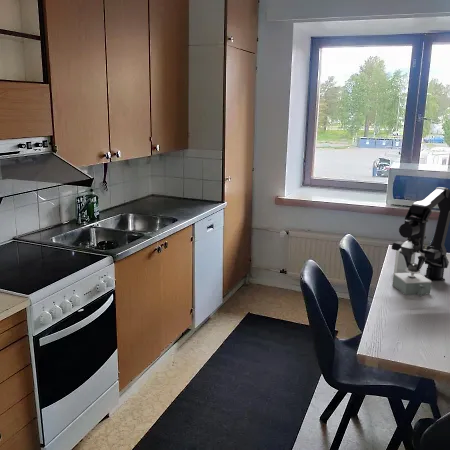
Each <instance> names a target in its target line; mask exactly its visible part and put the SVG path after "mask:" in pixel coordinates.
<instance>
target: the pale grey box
mask: <svg viewBox="0 0 450 450" xmlns="http://www.w3.org/2000/svg"><path fill="white" fill-rule="evenodd" d="M392 277H393V278H392V285H391V286H393V287H394V288H396V290H398V291H400V292H401V293H402V294H403V293H404V295H406V296H410V295H418V296H420V297H423V296H424V295H429V294H431V289H432V282H433V281H432V280H430V279H429V278H427V277H425V276H424V275H422V274H421V273H418V274H414V278H411V273H394V272H393V275H392Z"/></svg>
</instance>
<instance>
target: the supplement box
mask: <svg viewBox="0 0 450 450" xmlns="http://www.w3.org/2000/svg"><path fill="white" fill-rule="evenodd" d="M400 251H401V248H400V250H398V251H397V250H395V258H394V265H393V266H394V269H393V274H394V273H409V272H407V271H406V268H407V265H406V261H405V258H404V256H403V255H402V254H401V253H400ZM415 259H416V252H414V254H413V255H412V257H411V263H415Z"/></svg>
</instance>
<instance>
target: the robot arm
mask: <svg viewBox="0 0 450 450" xmlns="http://www.w3.org/2000/svg"><path fill="white" fill-rule="evenodd" d="M434 207H438V209H439V212H438V213H439V214H438V217H437V222H436V226H435V232H434V235H433V239H432V243H430V245H427V246H426V245H425V239H427V236H426V228H427V223H429V218H430V216H431V215H432V211H433V208H434ZM449 226H450V188H448V187H442V186H438V187H435V188H434V190H433V191H432V192H431V193H429V195H428V196H426V197H425V198H424V199H422V200H421V199H420V200H417V201H415V202H413V203H412V204H411V205H410V206H409V208H408V210H407V213H406V215H405V218H404V223H402V224H401V225H400V226H399V228H398V232H399V235H400V236H401V237H402V238H406V239H407V240H406V241H400V240H398V241H395V242H393V243H392V244H391V250H393V251H396V250H397V251H398V250H400V248H401V251H400V253H401V254H402V255H403V256H404V258H405V261H406V265H407V268H408V265H409V263H411V257H412V255H413V254H414V252H416V253H418V254H420V255H419V256H417V259H418V260H417V261H418V262H417V264H418V266H417V271H419V270H420V271H421V268H422V266H423V265H424V264H425V265H427V267H426V271H425V274H424V275H423V276H424V277H426V278H427V279H429V280H430V281H432V282H433V281H434V282H435V281H445V280H446V278H445V277H444V273H445V269H448V267H449V263H450V261H449V259H448V257H447V249H446V247H445V243H446V238H447V235H448V231H449ZM425 247H426V249H425ZM416 253H415V254H416Z"/></svg>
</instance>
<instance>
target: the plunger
mask: <svg viewBox="0 0 450 450" xmlns="http://www.w3.org/2000/svg"><path fill="white" fill-rule="evenodd" d="M417 266H418V263H415V262H414V263H409V265H408V268H406V271H407V272H409V273H411V278H414V274H418V273H419V274H421V269H420V270H419V271H417Z"/></svg>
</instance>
